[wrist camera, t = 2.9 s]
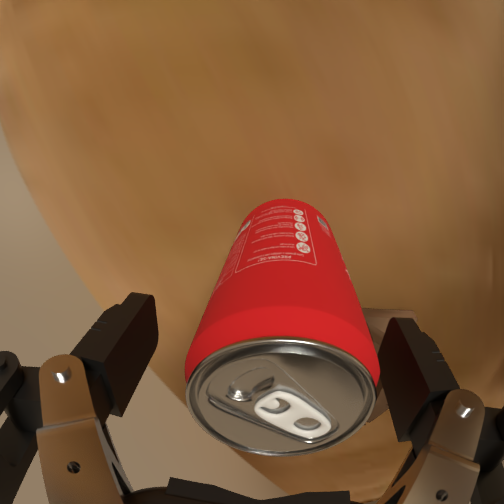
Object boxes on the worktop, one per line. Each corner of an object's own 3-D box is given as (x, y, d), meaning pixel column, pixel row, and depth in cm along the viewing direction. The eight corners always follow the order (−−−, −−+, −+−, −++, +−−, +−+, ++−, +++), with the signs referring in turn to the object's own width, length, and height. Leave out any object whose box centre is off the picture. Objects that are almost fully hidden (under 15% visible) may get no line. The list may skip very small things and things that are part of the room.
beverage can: (283, 174, 16) (279, 280, 5) (348, 238, 17) (421, 402, 6) (222, 239, 18) (140, 400, 7) (286, 294, 19) (279, 474, 8)
